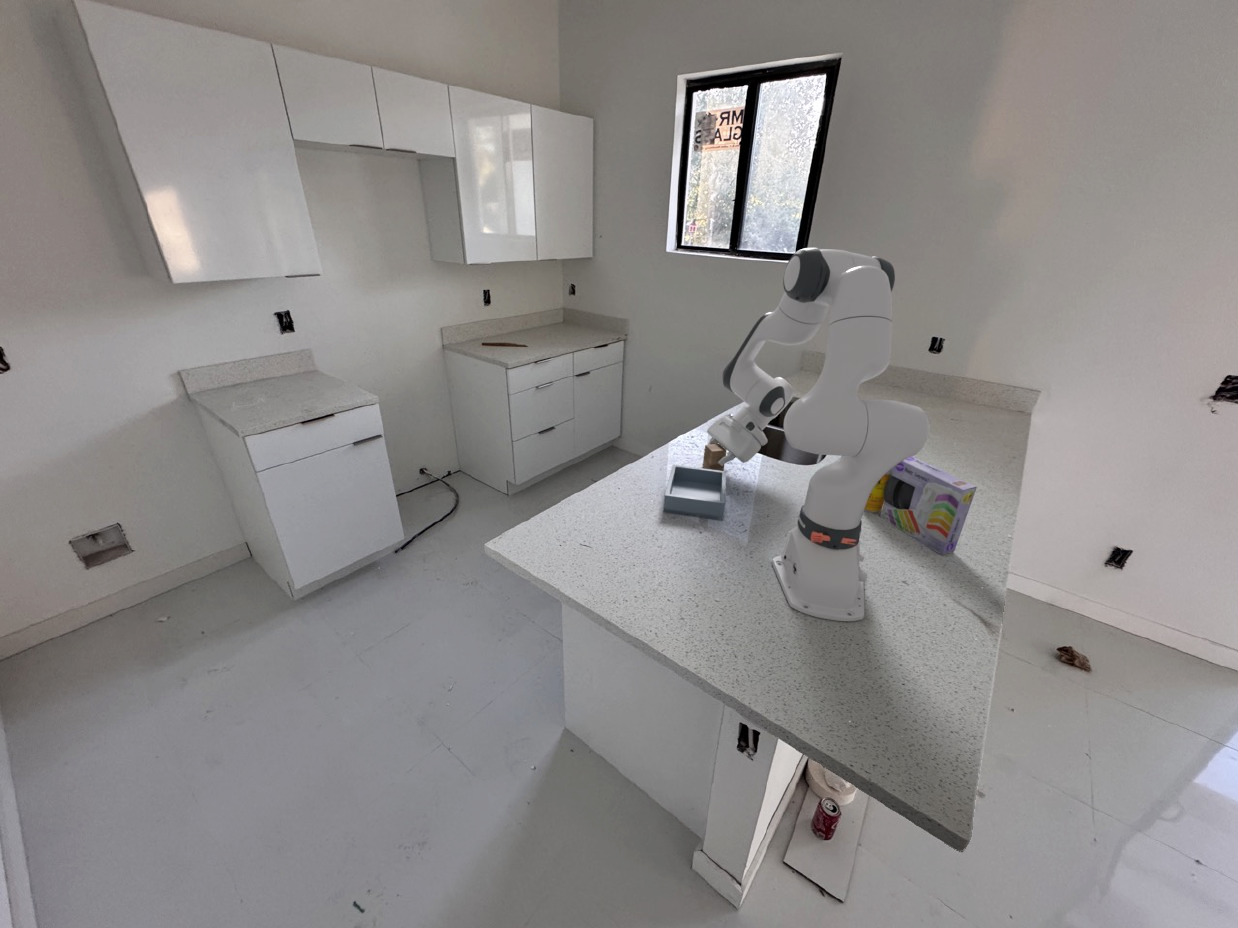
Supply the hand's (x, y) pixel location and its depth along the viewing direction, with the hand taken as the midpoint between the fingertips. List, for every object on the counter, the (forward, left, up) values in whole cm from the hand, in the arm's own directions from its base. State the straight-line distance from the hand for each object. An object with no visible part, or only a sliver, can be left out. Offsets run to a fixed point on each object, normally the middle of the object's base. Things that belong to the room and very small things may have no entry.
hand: (712, 457), depth 147 cm
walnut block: (0, -1, -5) cm, 5 cm away
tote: (-18, +3, -5) cm, 19 cm away
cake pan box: (-20, -51, -5) cm, 54 cm away
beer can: (-10, -43, -5) cm, 44 cm away
